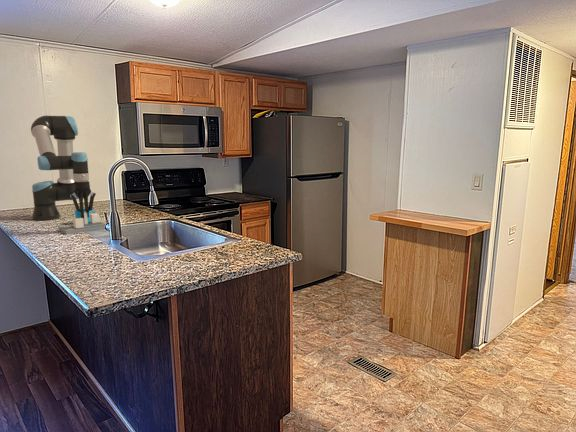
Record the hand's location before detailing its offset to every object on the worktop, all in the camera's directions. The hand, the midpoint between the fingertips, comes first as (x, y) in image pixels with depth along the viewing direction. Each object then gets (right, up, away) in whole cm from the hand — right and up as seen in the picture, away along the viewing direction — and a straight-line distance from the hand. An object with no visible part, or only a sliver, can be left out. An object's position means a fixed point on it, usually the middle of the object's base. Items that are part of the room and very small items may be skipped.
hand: (85, 223), depth 224 cm
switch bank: (-1, -3, +5) cm, 6 cm away
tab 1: (-3, -2, -2) cm, 4 cm away
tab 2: (0, 0, +11) cm, 11 cm away
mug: (-10, 0, +22) cm, 24 cm away
